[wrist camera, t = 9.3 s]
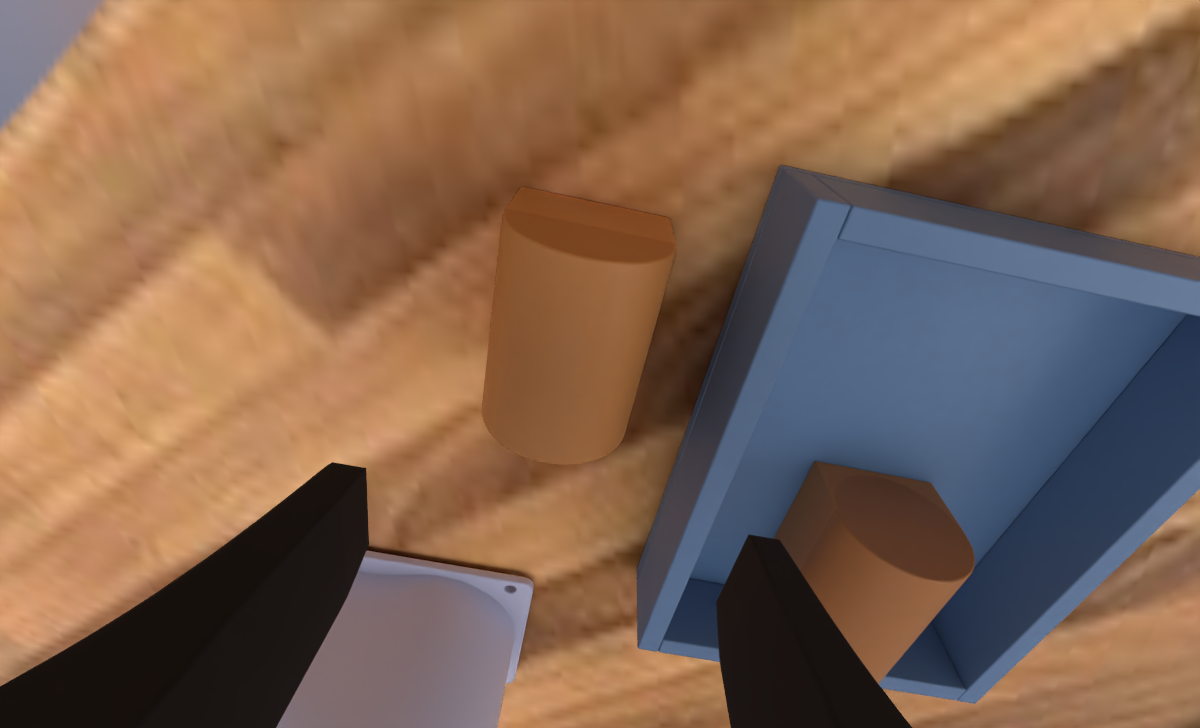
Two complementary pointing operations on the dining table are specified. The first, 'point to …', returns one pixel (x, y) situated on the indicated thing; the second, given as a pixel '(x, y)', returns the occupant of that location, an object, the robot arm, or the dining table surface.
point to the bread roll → (571, 323)
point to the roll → (876, 556)
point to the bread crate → (938, 410)
